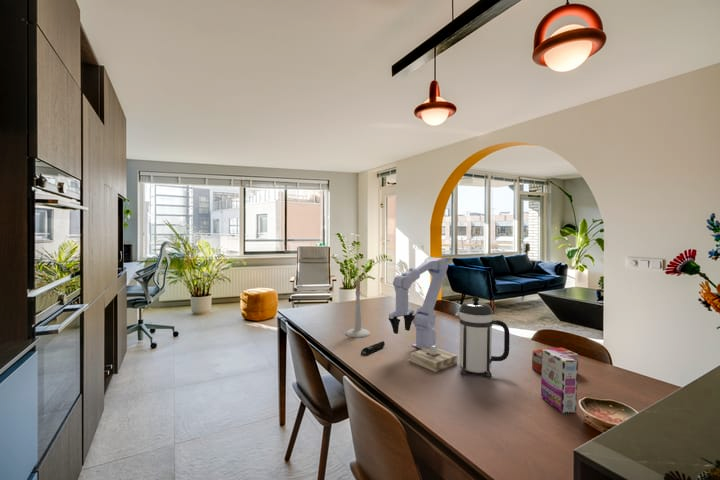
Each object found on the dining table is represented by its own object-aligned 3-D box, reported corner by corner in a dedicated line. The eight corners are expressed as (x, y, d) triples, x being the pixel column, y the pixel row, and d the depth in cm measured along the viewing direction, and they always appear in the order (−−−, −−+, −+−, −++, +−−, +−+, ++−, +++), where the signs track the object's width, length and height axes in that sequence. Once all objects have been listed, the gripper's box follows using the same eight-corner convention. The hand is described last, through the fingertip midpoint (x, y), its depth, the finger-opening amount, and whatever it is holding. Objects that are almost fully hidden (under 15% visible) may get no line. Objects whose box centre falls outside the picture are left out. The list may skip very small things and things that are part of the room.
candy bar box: (577, 413, 106) (578, 360, 105) (562, 414, 105) (563, 361, 105) (554, 396, 117) (555, 348, 117) (540, 396, 117) (541, 348, 116)
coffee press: (477, 383, 126) (478, 302, 125) (447, 367, 140) (448, 294, 140) (510, 374, 134) (511, 298, 133) (478, 360, 148) (479, 291, 148)
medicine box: (547, 377, 132) (547, 357, 132) (531, 369, 140) (531, 350, 139) (578, 373, 136) (579, 353, 136) (561, 365, 144) (562, 347, 143)
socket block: (431, 353, 156) (431, 346, 156) (457, 363, 145) (457, 355, 145) (409, 361, 148) (409, 353, 147) (435, 371, 137) (435, 363, 136)
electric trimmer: (386, 348, 165) (386, 341, 165) (366, 356, 153) (366, 349, 153) (380, 346, 168) (380, 340, 168) (360, 354, 156) (360, 347, 156)
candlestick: (374, 333, 188) (374, 278, 187) (361, 339, 177) (361, 281, 176) (354, 329, 195) (354, 276, 194) (341, 335, 184) (341, 279, 183)
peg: (431, 360, 149) (431, 344, 149) (438, 362, 147) (438, 345, 146) (427, 362, 146) (427, 346, 146) (434, 364, 144) (434, 347, 144)
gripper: (397, 305, 148) (396, 336, 149) (419, 301, 158) (418, 330, 158) (385, 303, 154) (385, 333, 154) (407, 299, 163) (407, 327, 164)
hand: (401, 331), depth 157 cm, fingers open, 7 cm apart
